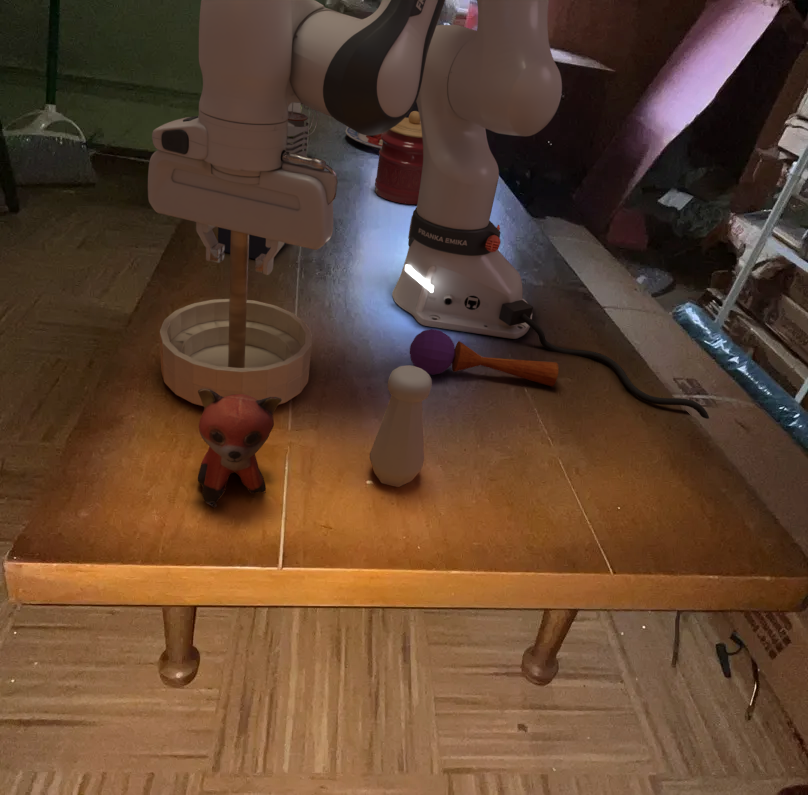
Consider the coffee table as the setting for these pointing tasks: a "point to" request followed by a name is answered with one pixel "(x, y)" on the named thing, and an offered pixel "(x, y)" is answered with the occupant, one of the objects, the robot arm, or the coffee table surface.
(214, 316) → the bowl
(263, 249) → the stand
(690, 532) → the coffee table surface
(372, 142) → the ceramic plate
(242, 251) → the stick
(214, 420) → the stuffed fox
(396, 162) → the kitchen canister
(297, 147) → the french press
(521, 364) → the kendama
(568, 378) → the coffee table surface
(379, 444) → the salt shaker
